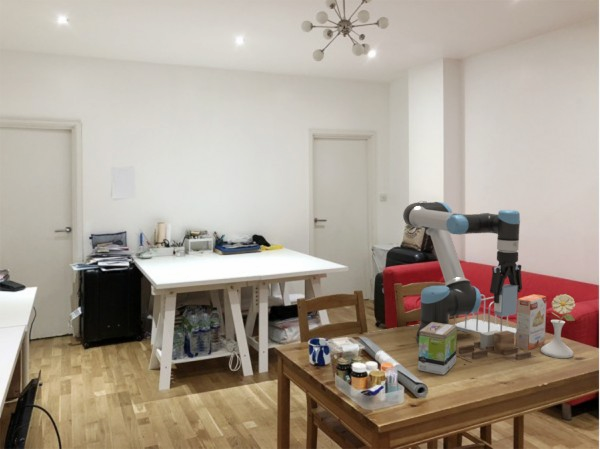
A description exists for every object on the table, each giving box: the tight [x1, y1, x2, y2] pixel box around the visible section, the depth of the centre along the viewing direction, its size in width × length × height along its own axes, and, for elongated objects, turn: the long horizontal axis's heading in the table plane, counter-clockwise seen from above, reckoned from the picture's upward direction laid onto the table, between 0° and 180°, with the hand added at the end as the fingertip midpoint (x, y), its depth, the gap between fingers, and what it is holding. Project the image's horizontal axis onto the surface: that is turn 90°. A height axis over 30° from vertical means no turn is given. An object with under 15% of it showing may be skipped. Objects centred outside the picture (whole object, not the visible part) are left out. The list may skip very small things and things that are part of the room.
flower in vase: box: [540, 293, 576, 359], centre depth 193 cm, size 13×11×25 cm
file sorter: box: [453, 294, 518, 337], centre depth 229 cm, size 25×17×16 cm
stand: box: [456, 344, 491, 363], centre depth 194 cm, size 8×10×4 cm
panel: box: [494, 283, 519, 318], centre depth 192 cm, size 4×8×11 cm, turn 119°
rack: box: [473, 340, 537, 363], centre depth 198 cm, size 20×12×3 cm, turn 27°
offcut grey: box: [479, 330, 501, 349], centre depth 203 cm, size 4×9×6 cm, turn 117°
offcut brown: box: [494, 331, 515, 354], centre depth 197 cm, size 4×7×8 cm, turn 117°
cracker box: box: [515, 293, 548, 351], centre depth 205 cm, size 14×6×21 cm, turn 130°
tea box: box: [417, 322, 458, 376], centre depth 184 cm, size 15×10×15 cm, turn 148°
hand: (505, 309), depth 192 cm, fingers closed on panel, 8 cm apart
